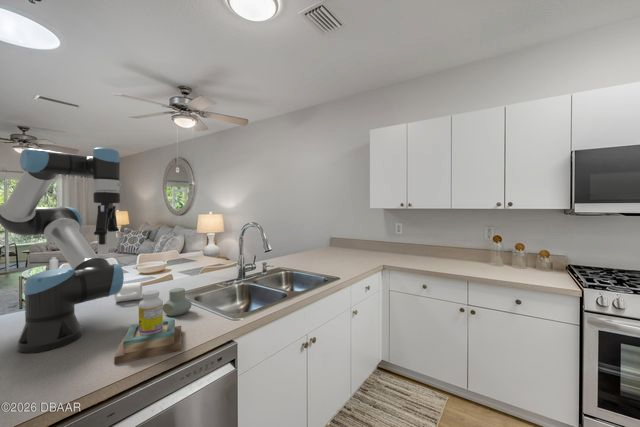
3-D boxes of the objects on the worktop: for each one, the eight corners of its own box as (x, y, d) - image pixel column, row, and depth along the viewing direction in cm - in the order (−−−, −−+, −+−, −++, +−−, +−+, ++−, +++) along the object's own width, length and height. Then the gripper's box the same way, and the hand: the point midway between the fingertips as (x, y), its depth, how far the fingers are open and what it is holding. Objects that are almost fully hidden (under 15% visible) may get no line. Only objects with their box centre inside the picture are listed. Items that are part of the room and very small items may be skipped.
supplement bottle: (141, 329, 91) (141, 290, 90) (164, 326, 93) (164, 288, 93) (136, 338, 84) (136, 296, 84) (161, 334, 87) (160, 293, 87)
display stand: (114, 363, 78) (114, 344, 78) (124, 341, 92) (123, 324, 92) (181, 350, 86) (181, 332, 86) (181, 331, 99) (181, 315, 99)
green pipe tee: (194, 312, 117) (194, 289, 117) (176, 319, 110) (176, 294, 110) (178, 308, 122) (177, 285, 122) (159, 314, 115) (159, 290, 115)
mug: (118, 299, 134) (118, 282, 134) (142, 296, 138) (142, 280, 138) (112, 307, 123) (112, 289, 123) (138, 303, 128) (138, 286, 128)
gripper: (111, 190, 90) (112, 255, 90) (125, 193, 112) (126, 246, 112) (82, 189, 86) (83, 257, 87) (102, 193, 109) (103, 247, 109)
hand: (107, 251), depth 99 cm, fingers open, 13 cm apart
